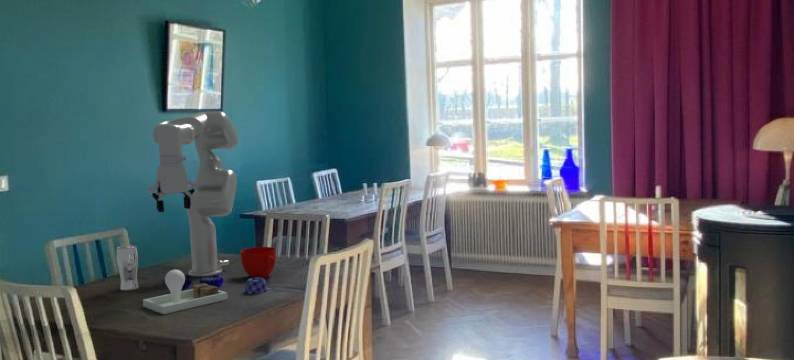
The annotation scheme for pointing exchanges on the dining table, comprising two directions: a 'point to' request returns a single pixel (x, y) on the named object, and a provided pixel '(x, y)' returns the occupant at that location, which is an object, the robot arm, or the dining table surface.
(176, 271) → the lightbulb
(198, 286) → the walnut block
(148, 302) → the tray
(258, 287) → the pudding
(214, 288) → the walnut block
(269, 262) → the ceramic cup
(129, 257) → the beer glass
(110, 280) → the dining table surface
